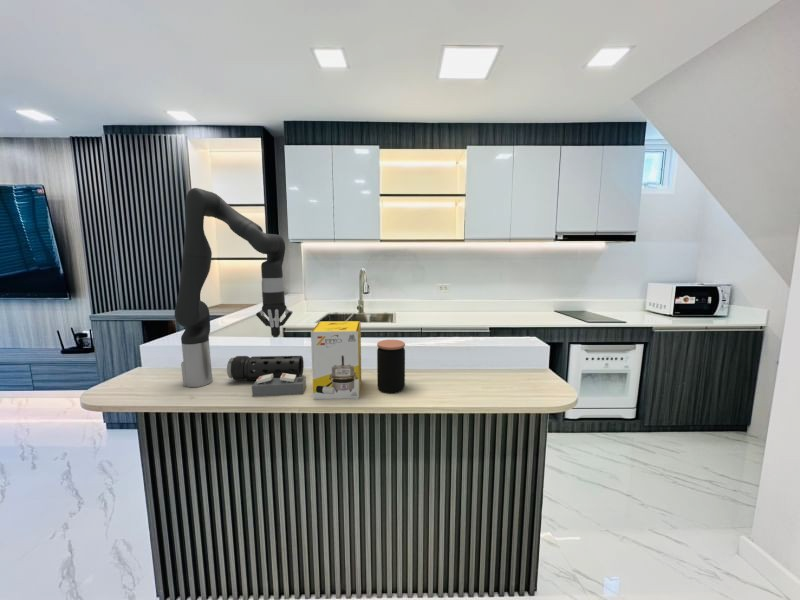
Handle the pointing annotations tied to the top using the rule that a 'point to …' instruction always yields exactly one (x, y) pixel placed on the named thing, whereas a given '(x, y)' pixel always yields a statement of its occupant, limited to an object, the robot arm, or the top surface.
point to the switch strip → (279, 387)
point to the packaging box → (336, 360)
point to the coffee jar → (391, 366)
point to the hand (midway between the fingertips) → (276, 336)
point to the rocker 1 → (265, 378)
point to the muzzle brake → (264, 366)
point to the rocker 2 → (288, 377)
